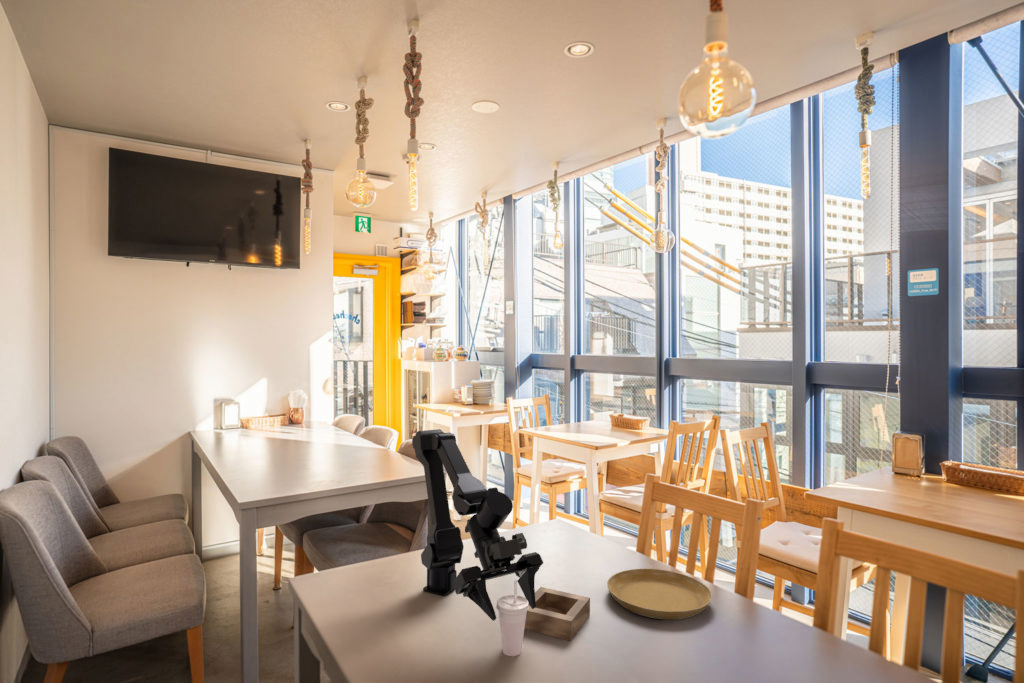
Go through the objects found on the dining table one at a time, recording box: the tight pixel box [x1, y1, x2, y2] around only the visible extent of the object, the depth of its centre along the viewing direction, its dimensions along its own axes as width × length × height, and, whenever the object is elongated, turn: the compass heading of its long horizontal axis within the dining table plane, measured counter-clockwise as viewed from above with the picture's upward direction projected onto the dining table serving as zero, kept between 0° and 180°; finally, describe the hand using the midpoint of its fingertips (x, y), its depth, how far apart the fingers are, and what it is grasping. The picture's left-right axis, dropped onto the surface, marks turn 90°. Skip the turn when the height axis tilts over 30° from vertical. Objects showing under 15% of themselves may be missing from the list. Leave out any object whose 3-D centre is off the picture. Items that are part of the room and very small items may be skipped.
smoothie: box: [496, 579, 529, 657], centre depth 111 cm, size 6×6×14 cm
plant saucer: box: [606, 568, 713, 621], centre depth 134 cm, size 24×24×3 cm
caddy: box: [524, 586, 591, 642], centre depth 124 cm, size 12×12×4 cm
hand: (514, 613), depth 111 cm, fingers open, 9 cm apart
